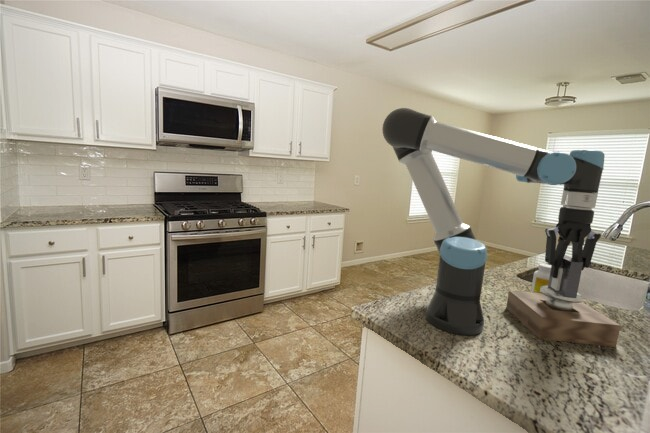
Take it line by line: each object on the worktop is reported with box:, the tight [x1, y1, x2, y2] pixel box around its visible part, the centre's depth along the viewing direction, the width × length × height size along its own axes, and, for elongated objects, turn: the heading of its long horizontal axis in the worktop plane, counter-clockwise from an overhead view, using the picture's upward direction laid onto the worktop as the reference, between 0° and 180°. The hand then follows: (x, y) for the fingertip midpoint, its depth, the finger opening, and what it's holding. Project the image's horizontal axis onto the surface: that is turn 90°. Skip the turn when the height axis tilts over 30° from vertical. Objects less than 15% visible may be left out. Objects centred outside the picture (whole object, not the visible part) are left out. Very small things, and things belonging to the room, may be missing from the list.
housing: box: [506, 290, 621, 348], centre depth 93 cm, size 19×19×6 cm
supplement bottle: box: [530, 263, 552, 294], centre depth 111 cm, size 7×7×13 cm
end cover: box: [540, 254, 584, 312], centre depth 92 cm, size 10×10×16 cm
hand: (561, 289), depth 92 cm, fingers closed on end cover, 3 cm apart
